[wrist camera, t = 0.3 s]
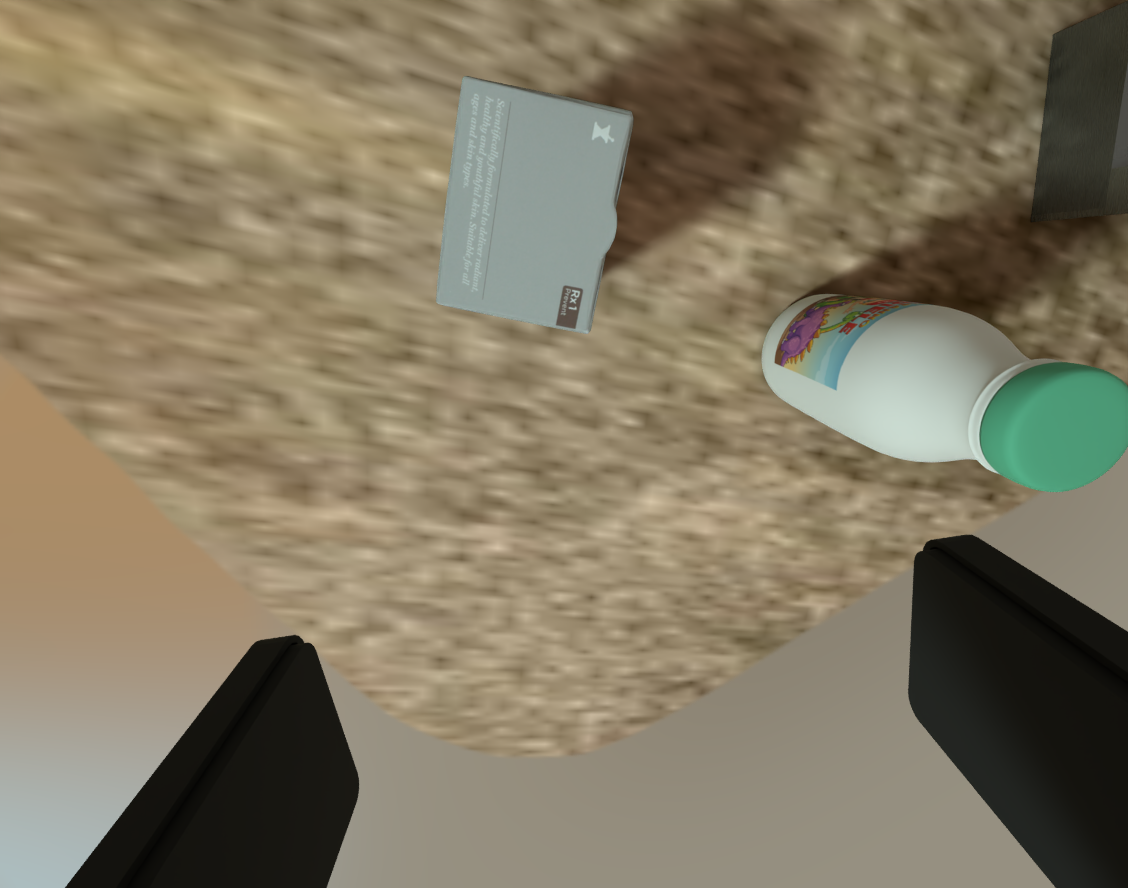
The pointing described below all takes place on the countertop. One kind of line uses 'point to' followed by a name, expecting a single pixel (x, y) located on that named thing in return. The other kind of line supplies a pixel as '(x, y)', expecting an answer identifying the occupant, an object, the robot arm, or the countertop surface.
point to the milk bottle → (945, 390)
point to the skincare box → (531, 204)
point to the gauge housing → (1085, 122)
